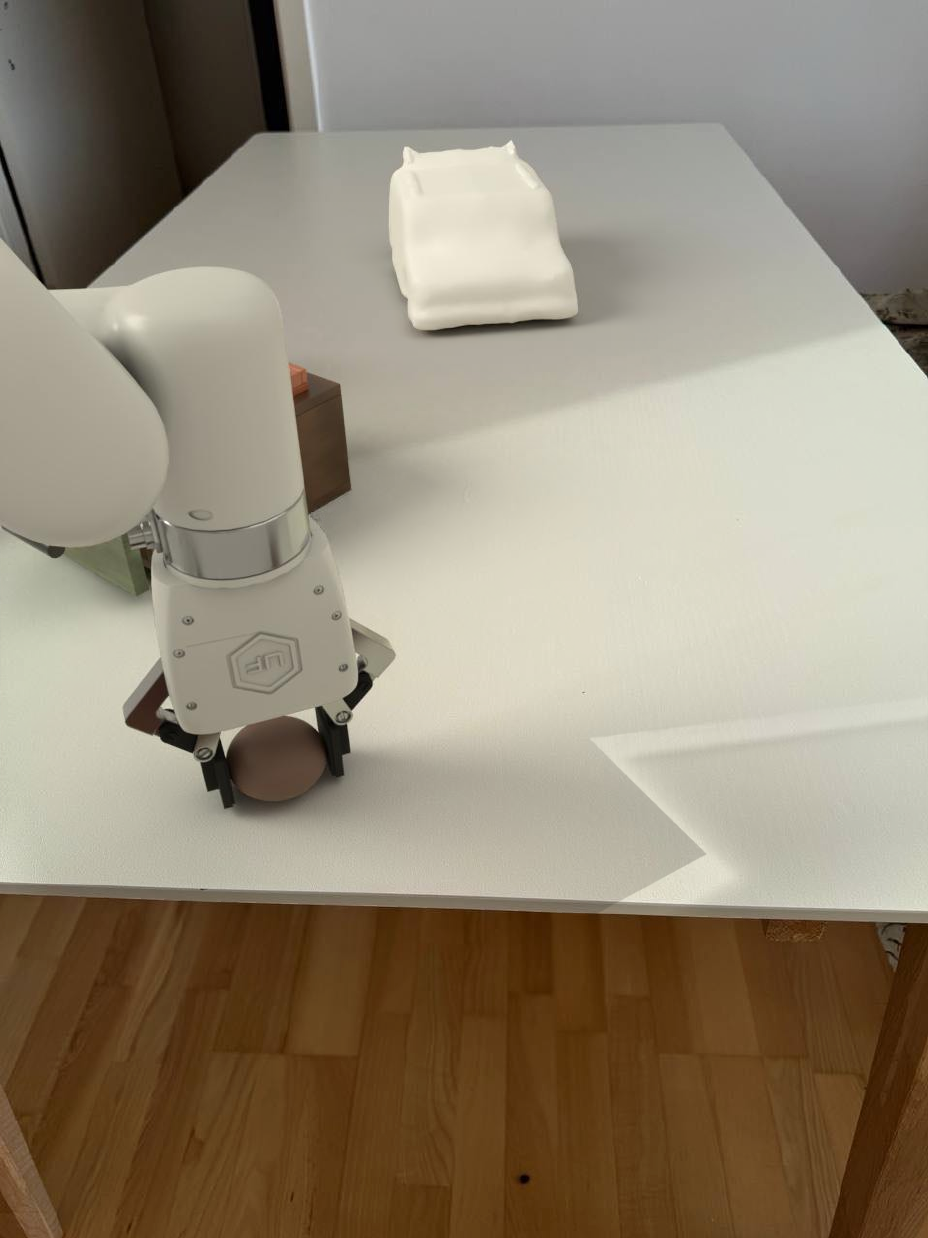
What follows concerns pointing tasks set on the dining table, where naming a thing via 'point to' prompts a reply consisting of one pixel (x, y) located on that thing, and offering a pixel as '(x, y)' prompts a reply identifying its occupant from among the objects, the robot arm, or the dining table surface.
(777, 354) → the dining table surface
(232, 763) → the egg
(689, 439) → the dining table surface
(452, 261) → the flour sack
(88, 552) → the drawer
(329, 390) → the cabinet
